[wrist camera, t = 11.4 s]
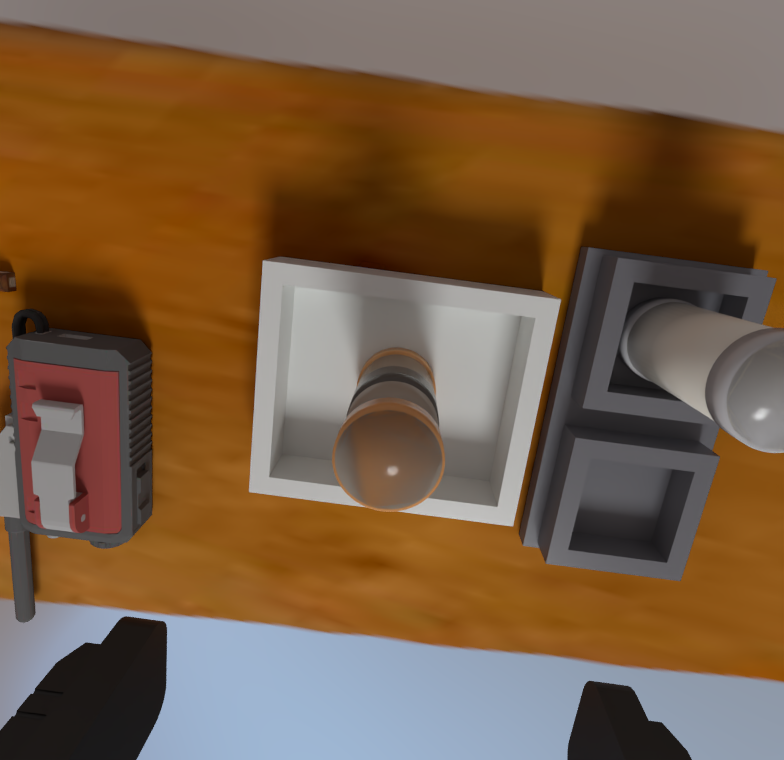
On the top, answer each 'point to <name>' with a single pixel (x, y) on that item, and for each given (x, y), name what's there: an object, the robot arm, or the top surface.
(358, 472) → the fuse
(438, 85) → the top surface
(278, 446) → the parts tray
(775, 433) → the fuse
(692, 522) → the fuse block
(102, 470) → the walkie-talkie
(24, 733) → the robot arm
